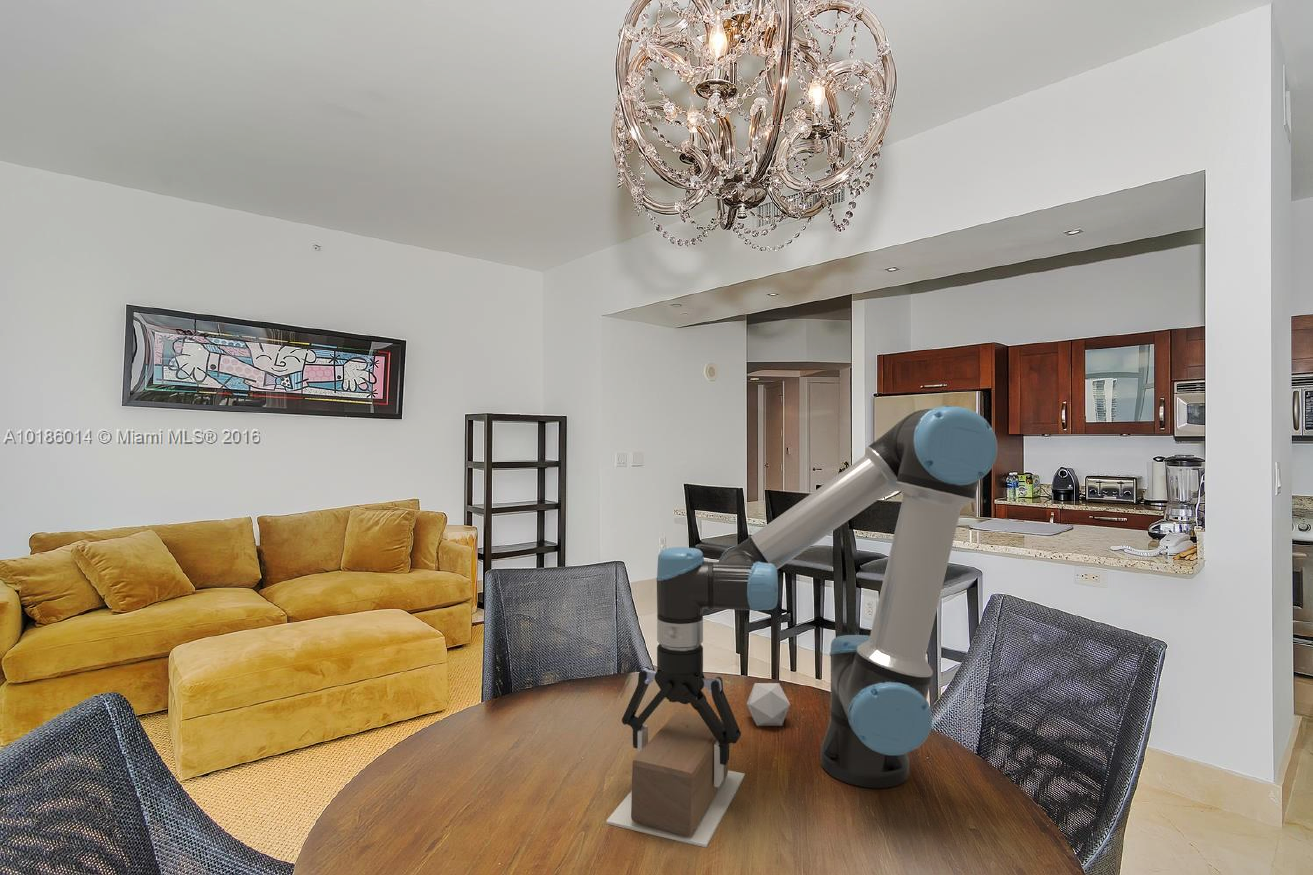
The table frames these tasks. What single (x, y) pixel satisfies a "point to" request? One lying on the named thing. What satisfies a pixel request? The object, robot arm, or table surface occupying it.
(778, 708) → the die
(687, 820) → the wooden block
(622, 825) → the white mat
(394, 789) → the table surface
